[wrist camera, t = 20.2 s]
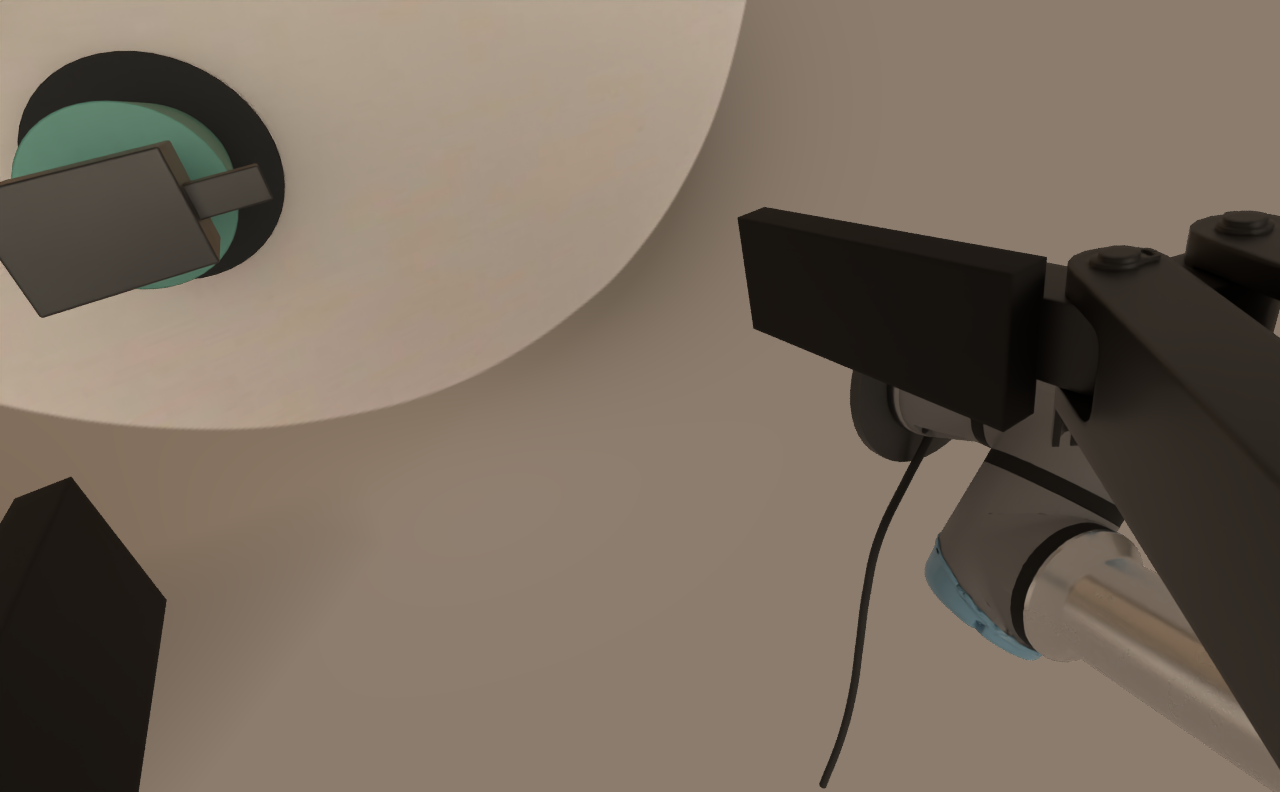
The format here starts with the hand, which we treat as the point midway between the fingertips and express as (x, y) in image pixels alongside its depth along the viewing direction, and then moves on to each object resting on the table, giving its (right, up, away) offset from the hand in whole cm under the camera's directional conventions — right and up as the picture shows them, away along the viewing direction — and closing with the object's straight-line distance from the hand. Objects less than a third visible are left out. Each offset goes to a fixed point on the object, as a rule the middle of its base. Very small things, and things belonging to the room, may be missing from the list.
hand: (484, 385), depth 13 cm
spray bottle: (-21, +11, +21) cm, 32 cm away
